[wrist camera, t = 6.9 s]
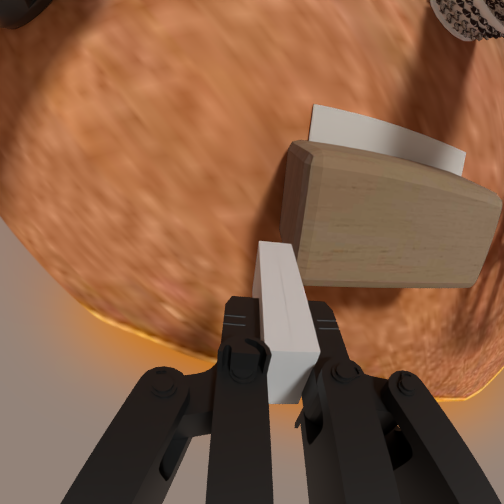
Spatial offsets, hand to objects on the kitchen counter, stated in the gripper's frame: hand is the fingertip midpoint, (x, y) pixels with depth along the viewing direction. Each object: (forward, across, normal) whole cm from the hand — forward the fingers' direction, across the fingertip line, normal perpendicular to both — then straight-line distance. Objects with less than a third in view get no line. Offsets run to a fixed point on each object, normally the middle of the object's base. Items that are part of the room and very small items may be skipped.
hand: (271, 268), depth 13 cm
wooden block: (+10, +2, 0) cm, 10 cm away
